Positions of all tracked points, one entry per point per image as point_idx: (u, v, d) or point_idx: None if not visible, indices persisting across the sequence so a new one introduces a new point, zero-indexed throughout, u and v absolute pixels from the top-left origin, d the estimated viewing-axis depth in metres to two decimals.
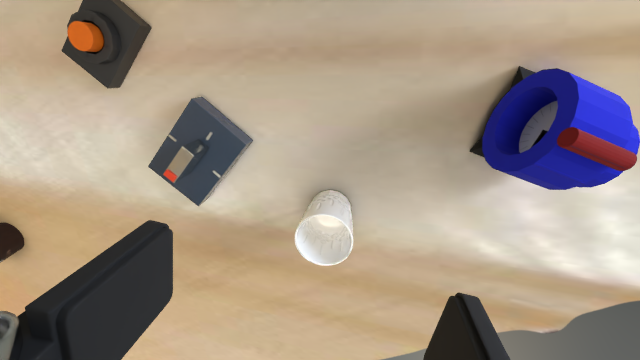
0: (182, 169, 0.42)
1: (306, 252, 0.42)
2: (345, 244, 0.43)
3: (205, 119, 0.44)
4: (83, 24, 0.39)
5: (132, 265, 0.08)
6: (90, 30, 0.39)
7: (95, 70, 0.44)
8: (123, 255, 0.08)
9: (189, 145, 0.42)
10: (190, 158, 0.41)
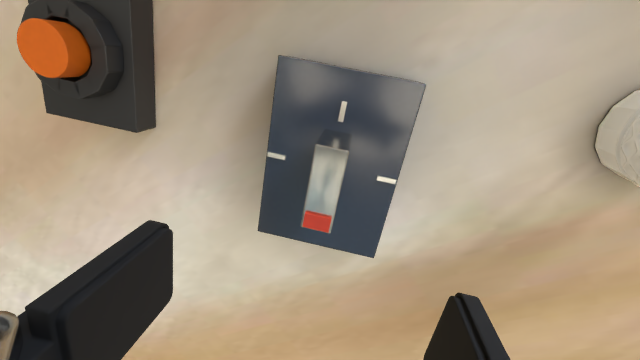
0: (336, 195, 0.18)
1: None
2: None
3: (321, 81, 0.20)
4: (34, 20, 0.19)
5: (132, 265, 0.08)
6: (51, 24, 0.19)
7: (105, 113, 0.24)
8: (123, 255, 0.08)
9: (325, 140, 0.18)
10: (344, 162, 0.17)
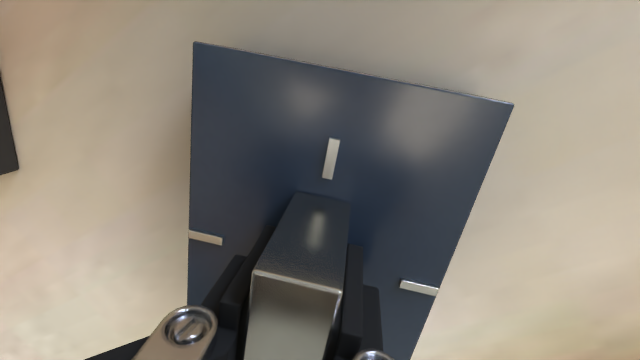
0: None
1: None
2: None
3: (286, 97, 0.10)
4: None
5: None
6: None
7: None
8: None
9: (285, 244, 0.07)
10: (330, 315, 0.07)
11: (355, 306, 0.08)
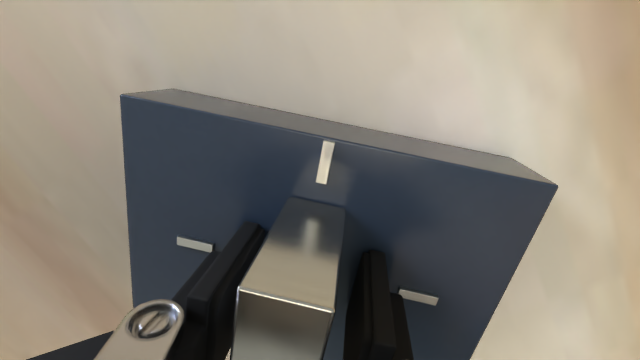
0: None
1: None
2: None
3: (156, 271, 0.12)
4: None
5: (246, 261, 0.09)
6: None
7: None
8: (238, 252, 0.09)
9: (275, 255, 0.07)
10: (322, 335, 0.06)
11: (385, 315, 0.07)
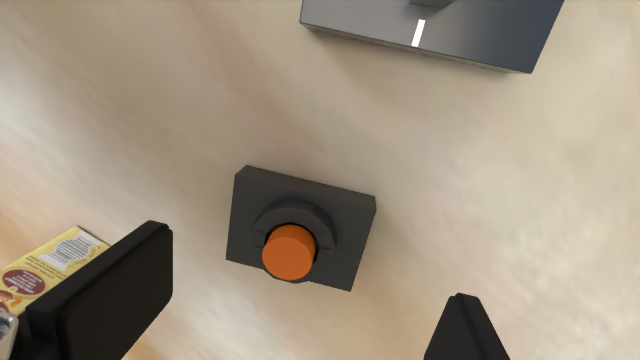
0: None
1: None
2: None
3: None
4: (264, 256, 0.21)
5: (132, 265, 0.08)
6: (267, 243, 0.21)
7: (353, 235, 0.23)
8: (123, 255, 0.08)
9: None
10: None
11: None
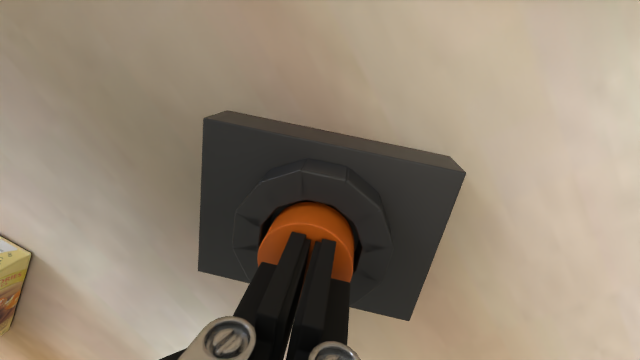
0: None
1: None
2: None
3: None
4: (261, 260, 0.11)
5: (300, 274, 0.09)
6: (265, 236, 0.11)
7: (420, 224, 0.13)
8: (292, 264, 0.09)
9: None
10: None
11: (319, 299, 0.08)
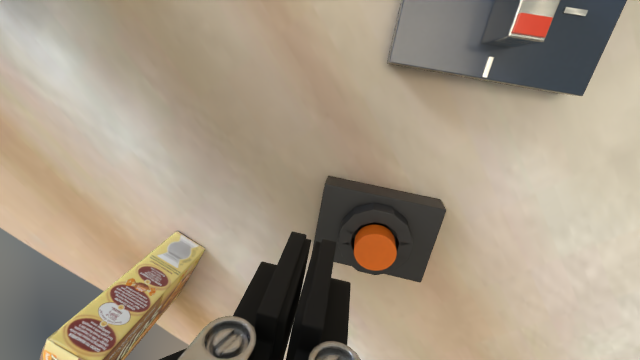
0: None
1: None
2: None
3: (415, 17, 0.22)
4: (355, 250, 0.26)
5: (301, 274, 0.09)
6: (358, 239, 0.25)
7: (425, 233, 0.27)
8: (292, 264, 0.09)
9: None
10: None
11: (319, 299, 0.08)
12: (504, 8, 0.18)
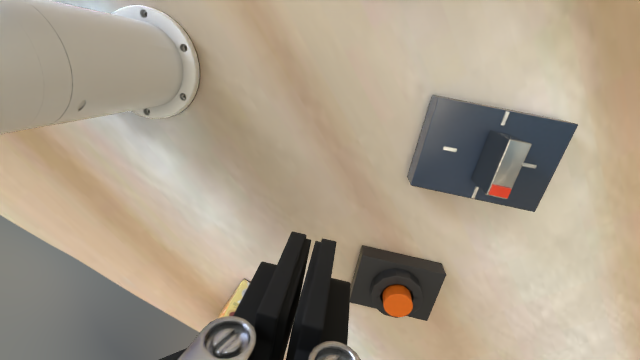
0: (517, 173, 0.28)
1: None
2: None
3: (429, 161, 0.33)
4: (384, 304, 0.38)
5: (301, 274, 0.09)
6: (387, 297, 0.37)
7: (431, 288, 0.40)
8: (292, 264, 0.09)
9: (508, 137, 0.28)
10: (527, 150, 0.27)
11: (319, 299, 0.08)
12: (485, 171, 0.30)
